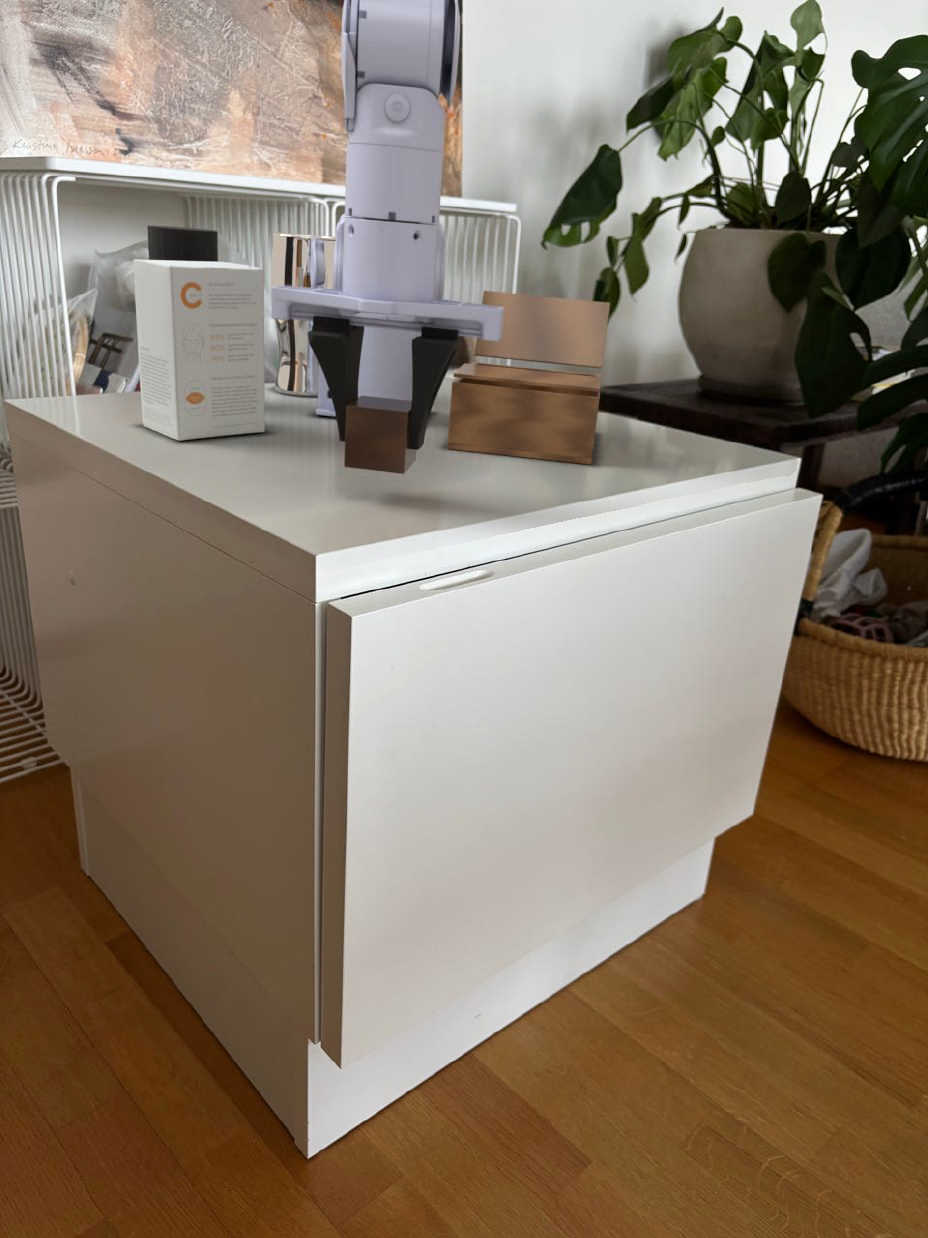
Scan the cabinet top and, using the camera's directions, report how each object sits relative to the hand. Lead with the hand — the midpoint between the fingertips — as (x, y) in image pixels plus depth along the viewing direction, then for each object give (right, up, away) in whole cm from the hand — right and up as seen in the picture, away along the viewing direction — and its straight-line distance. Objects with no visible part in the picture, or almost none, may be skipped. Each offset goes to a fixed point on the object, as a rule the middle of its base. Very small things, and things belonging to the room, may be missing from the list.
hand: (381, 442), depth 64 cm
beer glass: (-11, +12, +36) cm, 40 cm away
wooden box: (+11, +4, +22) cm, 25 cm away
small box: (-16, +4, +16) cm, 23 cm away
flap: (+13, +15, +26) cm, 33 cm away
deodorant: (-20, +9, +27) cm, 35 cm away
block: (0, -1, +1) cm, 1 cm away
